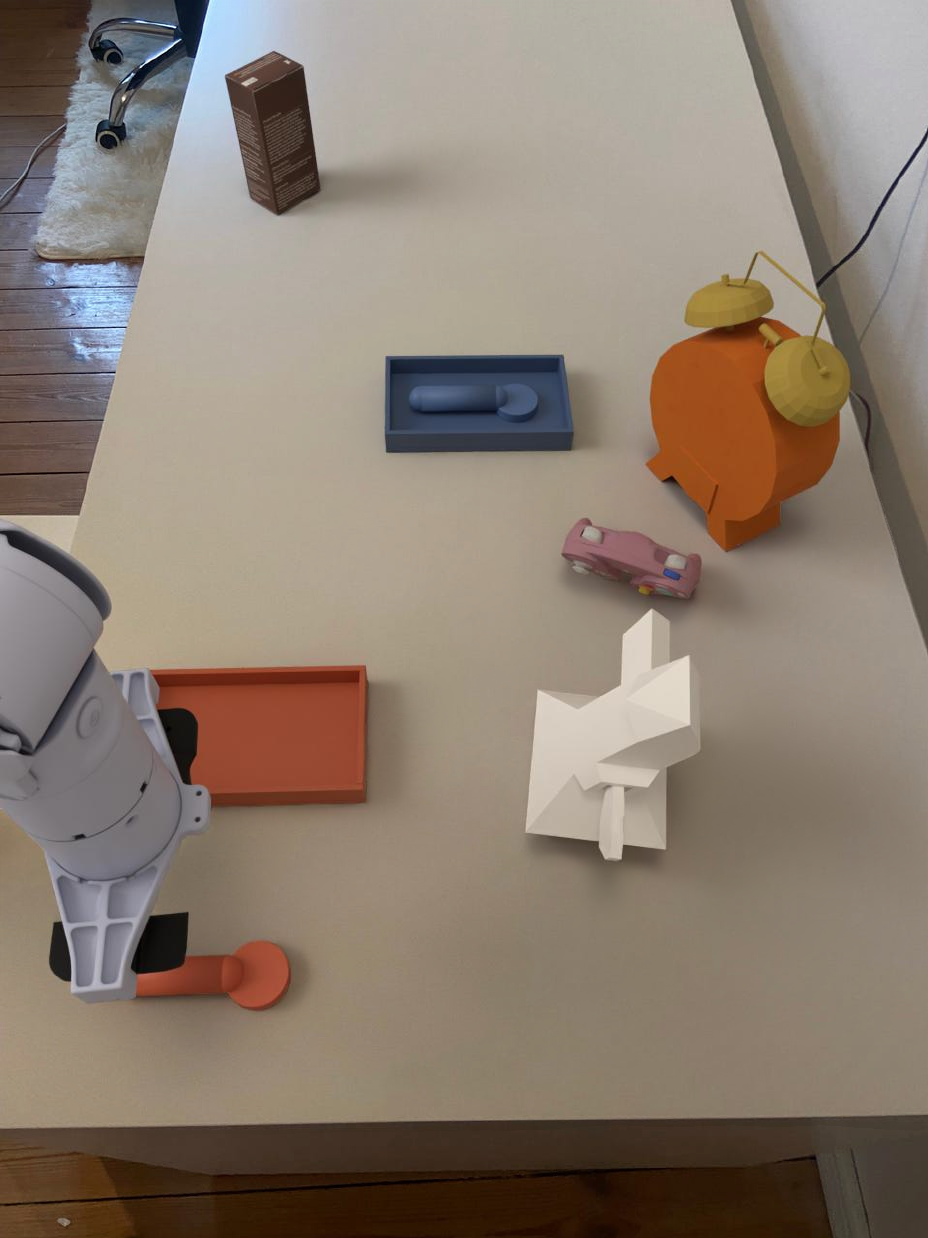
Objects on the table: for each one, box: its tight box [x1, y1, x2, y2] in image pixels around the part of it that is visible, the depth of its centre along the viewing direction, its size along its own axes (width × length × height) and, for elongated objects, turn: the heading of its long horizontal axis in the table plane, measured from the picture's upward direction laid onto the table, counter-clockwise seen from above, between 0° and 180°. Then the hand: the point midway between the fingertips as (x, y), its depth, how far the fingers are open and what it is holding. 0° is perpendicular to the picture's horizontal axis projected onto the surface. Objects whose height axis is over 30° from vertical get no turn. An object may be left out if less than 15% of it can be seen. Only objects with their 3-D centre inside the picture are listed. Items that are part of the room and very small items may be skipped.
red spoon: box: [136, 940, 292, 1011], centre depth 54 cm, size 10×4×2 cm, turn 92°
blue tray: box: [384, 354, 575, 453], centre depth 78 cm, size 15×9×2 cm, turn 92°
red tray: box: [150, 664, 369, 808], centre depth 62 cm, size 15×9×2 cm, turn 92°
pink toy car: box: [560, 517, 703, 599], centre depth 68 cm, size 10×5×7 cm, turn 68°
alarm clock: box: [645, 250, 851, 553], centre depth 67 cm, size 13×6×20 cm, turn 31°
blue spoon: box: [409, 384, 538, 422], centre depth 78 cm, size 10×4×2 cm, turn 92°
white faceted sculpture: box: [525, 608, 701, 862], centre depth 56 cm, size 8×14×14 cm, turn 173°
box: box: [224, 50, 321, 215], centre depth 90 cm, size 6×4×12 cm
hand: (168, 883), depth 49 cm, fingers open, 7 cm apart
